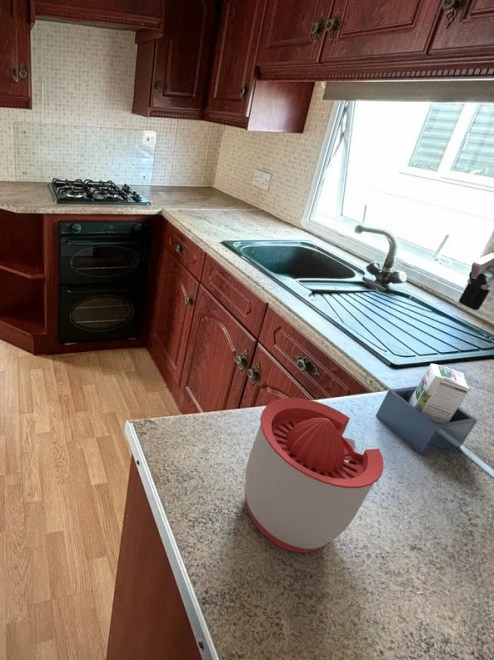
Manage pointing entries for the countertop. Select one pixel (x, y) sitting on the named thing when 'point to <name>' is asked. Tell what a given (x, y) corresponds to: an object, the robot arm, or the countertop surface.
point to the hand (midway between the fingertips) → (486, 305)
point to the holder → (423, 424)
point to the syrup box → (439, 393)
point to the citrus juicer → (306, 474)
